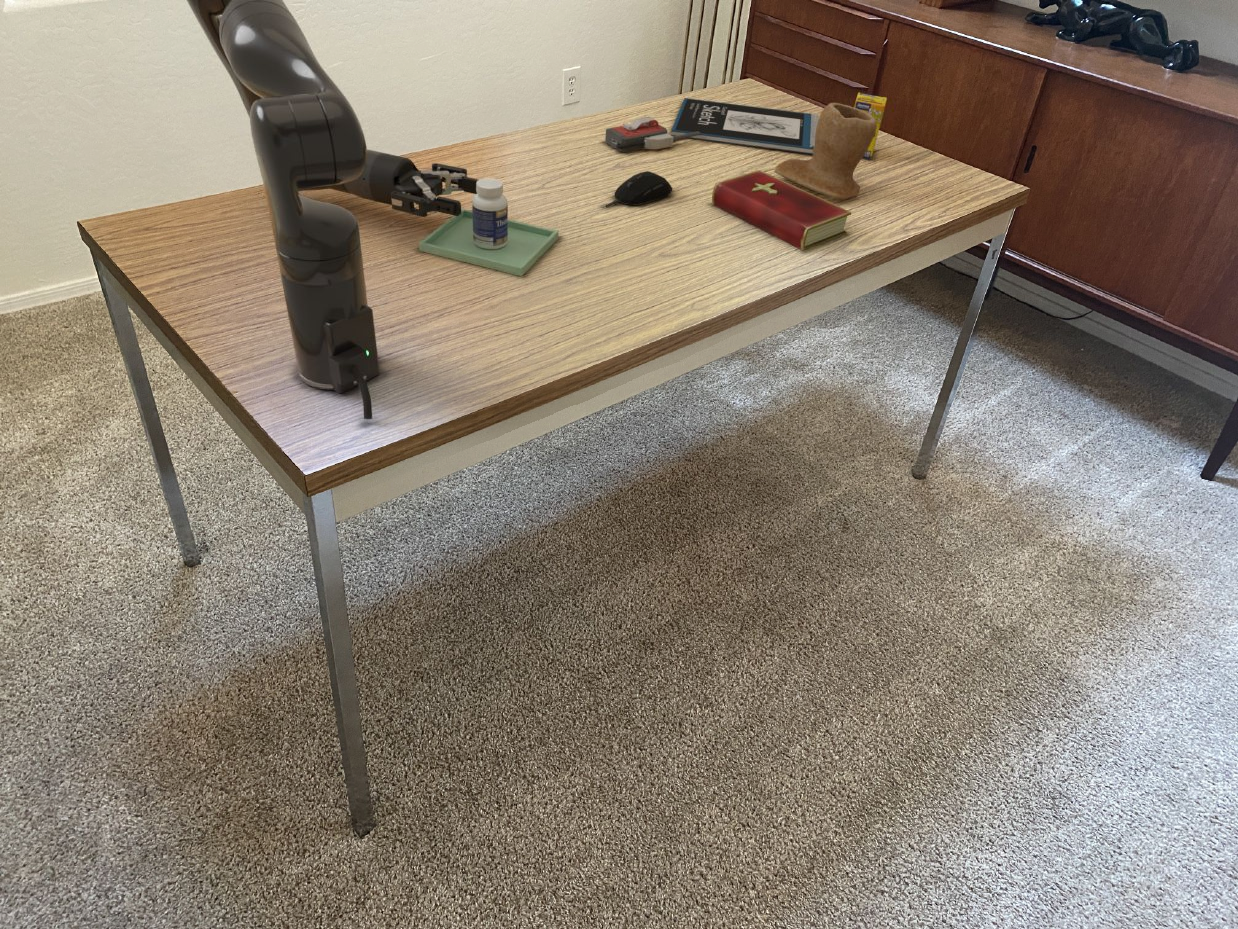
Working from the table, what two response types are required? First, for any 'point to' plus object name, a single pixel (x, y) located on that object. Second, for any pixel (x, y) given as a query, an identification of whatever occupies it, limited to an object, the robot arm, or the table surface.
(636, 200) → the gaming mouse
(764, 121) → the sketchbook
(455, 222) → the tray
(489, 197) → the pill bottle
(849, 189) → the brown boot
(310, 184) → the robot arm
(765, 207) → the hardcover book
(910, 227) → the table surface
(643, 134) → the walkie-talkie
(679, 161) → the table surface
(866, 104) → the supplement box
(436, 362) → the table surface
